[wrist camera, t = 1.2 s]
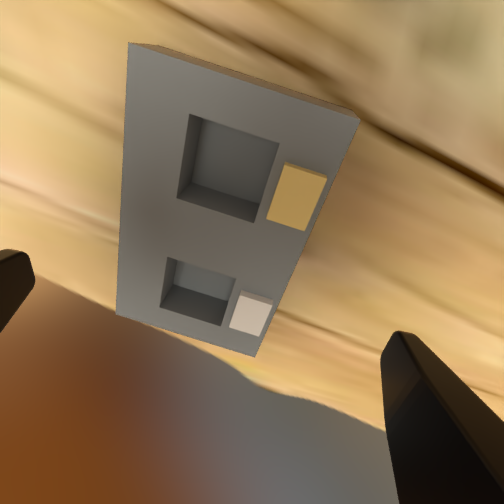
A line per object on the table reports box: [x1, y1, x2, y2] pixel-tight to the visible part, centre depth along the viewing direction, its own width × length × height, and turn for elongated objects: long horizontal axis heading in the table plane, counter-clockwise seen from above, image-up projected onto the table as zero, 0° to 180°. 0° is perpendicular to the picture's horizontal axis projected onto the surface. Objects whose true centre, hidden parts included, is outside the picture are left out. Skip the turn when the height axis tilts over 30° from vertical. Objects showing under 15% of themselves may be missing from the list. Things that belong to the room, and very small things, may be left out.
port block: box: [116, 42, 361, 357], centre depth 18 cm, size 10×16×4 cm, turn 164°
